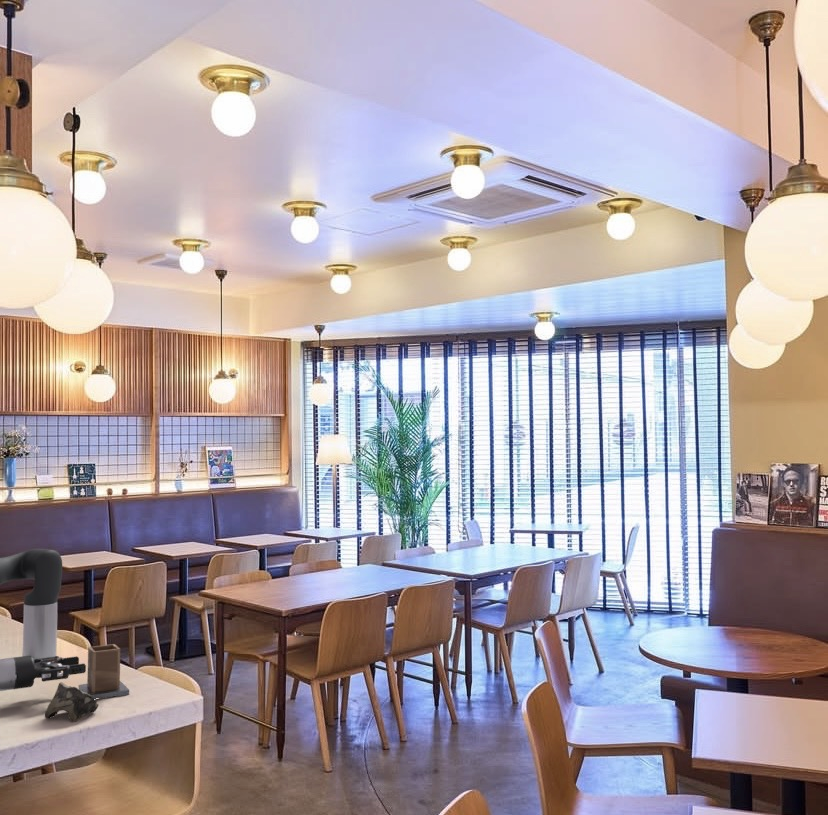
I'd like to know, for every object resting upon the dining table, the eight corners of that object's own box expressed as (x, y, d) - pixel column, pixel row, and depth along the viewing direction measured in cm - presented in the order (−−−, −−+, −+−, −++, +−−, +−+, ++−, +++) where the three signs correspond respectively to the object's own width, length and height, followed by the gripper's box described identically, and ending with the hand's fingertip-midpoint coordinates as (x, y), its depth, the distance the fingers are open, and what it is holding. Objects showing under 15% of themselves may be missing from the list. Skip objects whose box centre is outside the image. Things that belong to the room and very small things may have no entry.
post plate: (78, 689, 214) (79, 657, 214) (118, 683, 219) (118, 652, 220) (87, 700, 204) (88, 667, 204) (129, 694, 209) (129, 661, 210)
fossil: (108, 707, 197) (99, 674, 193) (88, 736, 189) (78, 703, 184) (66, 703, 199) (57, 671, 194) (45, 732, 190) (35, 699, 186)
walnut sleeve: (87, 686, 213) (88, 647, 213) (113, 682, 216) (114, 644, 217) (92, 692, 207) (93, 652, 208) (119, 688, 210) (120, 648, 211)
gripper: (7, 682, 206) (76, 672, 215) (15, 696, 194) (87, 685, 203) (8, 652, 206) (76, 643, 215) (16, 664, 194) (88, 655, 203)
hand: (81, 664), depth 209 cm, fingers open, 8 cm apart
